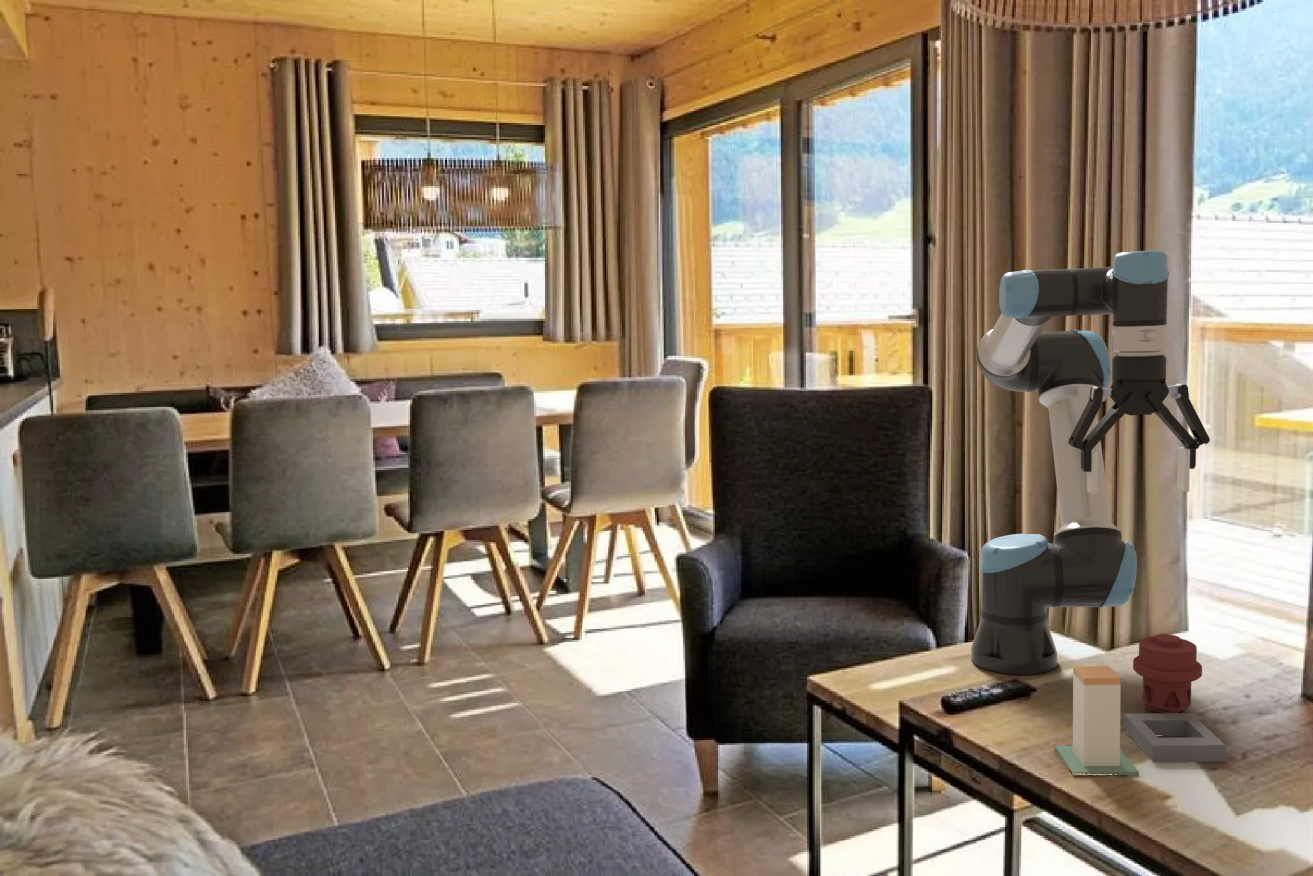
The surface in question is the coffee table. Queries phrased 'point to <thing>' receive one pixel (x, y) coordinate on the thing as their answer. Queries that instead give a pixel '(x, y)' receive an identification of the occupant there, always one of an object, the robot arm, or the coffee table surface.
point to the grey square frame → (1190, 749)
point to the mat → (1077, 766)
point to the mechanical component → (1167, 672)
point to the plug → (1096, 715)
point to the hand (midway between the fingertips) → (1137, 491)
